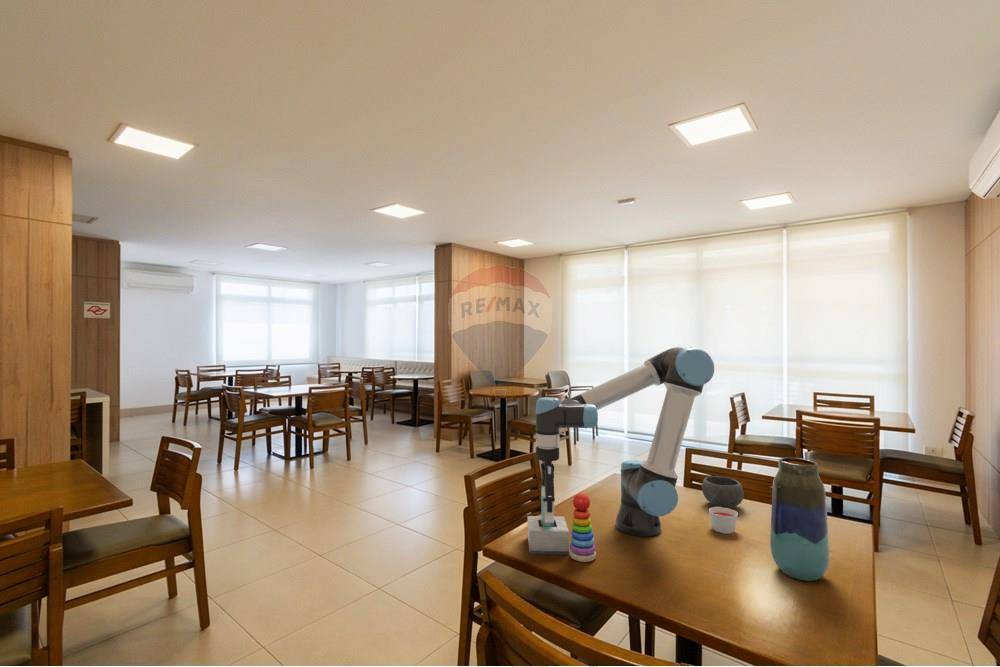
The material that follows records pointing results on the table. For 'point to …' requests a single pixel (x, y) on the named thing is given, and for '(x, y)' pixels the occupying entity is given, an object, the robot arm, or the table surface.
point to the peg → (544, 515)
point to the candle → (723, 519)
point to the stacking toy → (582, 531)
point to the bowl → (722, 491)
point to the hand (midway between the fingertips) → (547, 514)
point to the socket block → (548, 536)
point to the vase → (799, 520)
